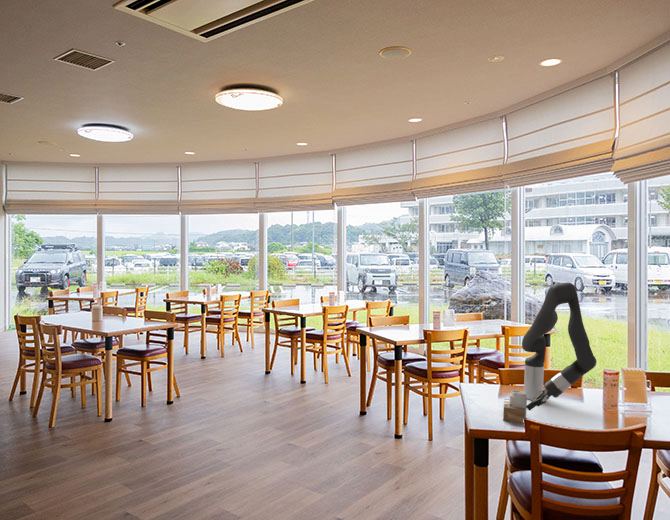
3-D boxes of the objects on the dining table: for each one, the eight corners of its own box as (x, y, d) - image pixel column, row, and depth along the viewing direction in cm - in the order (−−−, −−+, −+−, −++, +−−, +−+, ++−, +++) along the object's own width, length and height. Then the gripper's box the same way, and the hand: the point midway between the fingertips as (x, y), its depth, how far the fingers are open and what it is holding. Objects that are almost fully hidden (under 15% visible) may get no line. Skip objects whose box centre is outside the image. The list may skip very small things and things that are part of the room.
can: (506, 415, 235) (506, 389, 234) (521, 414, 236) (522, 389, 235) (513, 420, 227) (514, 394, 227) (529, 420, 228) (530, 394, 228)
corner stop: (504, 411, 240) (504, 397, 240) (524, 413, 237) (524, 399, 237) (503, 420, 227) (503, 406, 227) (524, 423, 224) (525, 408, 224)
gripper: (550, 374, 233) (521, 398, 237) (552, 381, 220) (521, 406, 225) (562, 387, 231) (533, 410, 235) (565, 395, 218) (534, 419, 223)
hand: (527, 408), depth 230 cm, fingers closed
